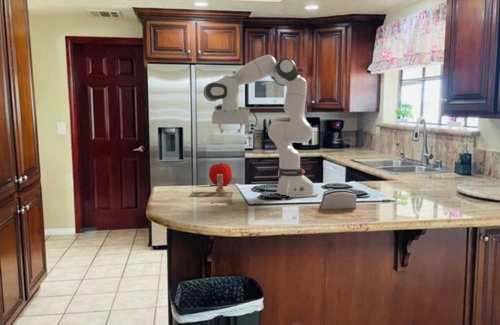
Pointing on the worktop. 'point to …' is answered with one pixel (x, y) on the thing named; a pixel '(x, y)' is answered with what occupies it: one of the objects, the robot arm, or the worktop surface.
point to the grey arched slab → (338, 199)
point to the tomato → (220, 169)
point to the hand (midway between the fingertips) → (230, 132)
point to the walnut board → (210, 194)
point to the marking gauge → (220, 185)
